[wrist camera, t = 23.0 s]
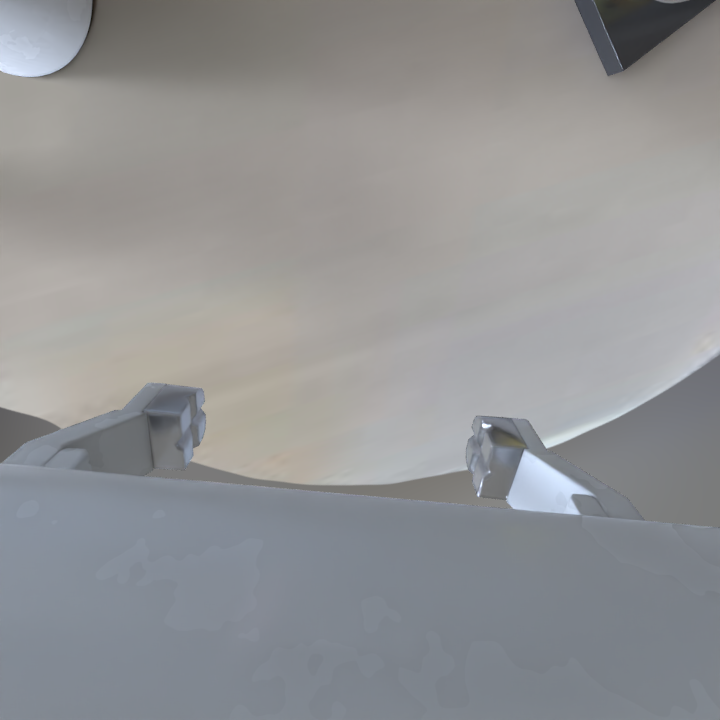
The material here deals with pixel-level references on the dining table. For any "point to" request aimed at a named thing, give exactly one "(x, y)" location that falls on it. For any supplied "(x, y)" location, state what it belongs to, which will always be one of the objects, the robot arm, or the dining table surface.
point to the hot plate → (633, 26)
